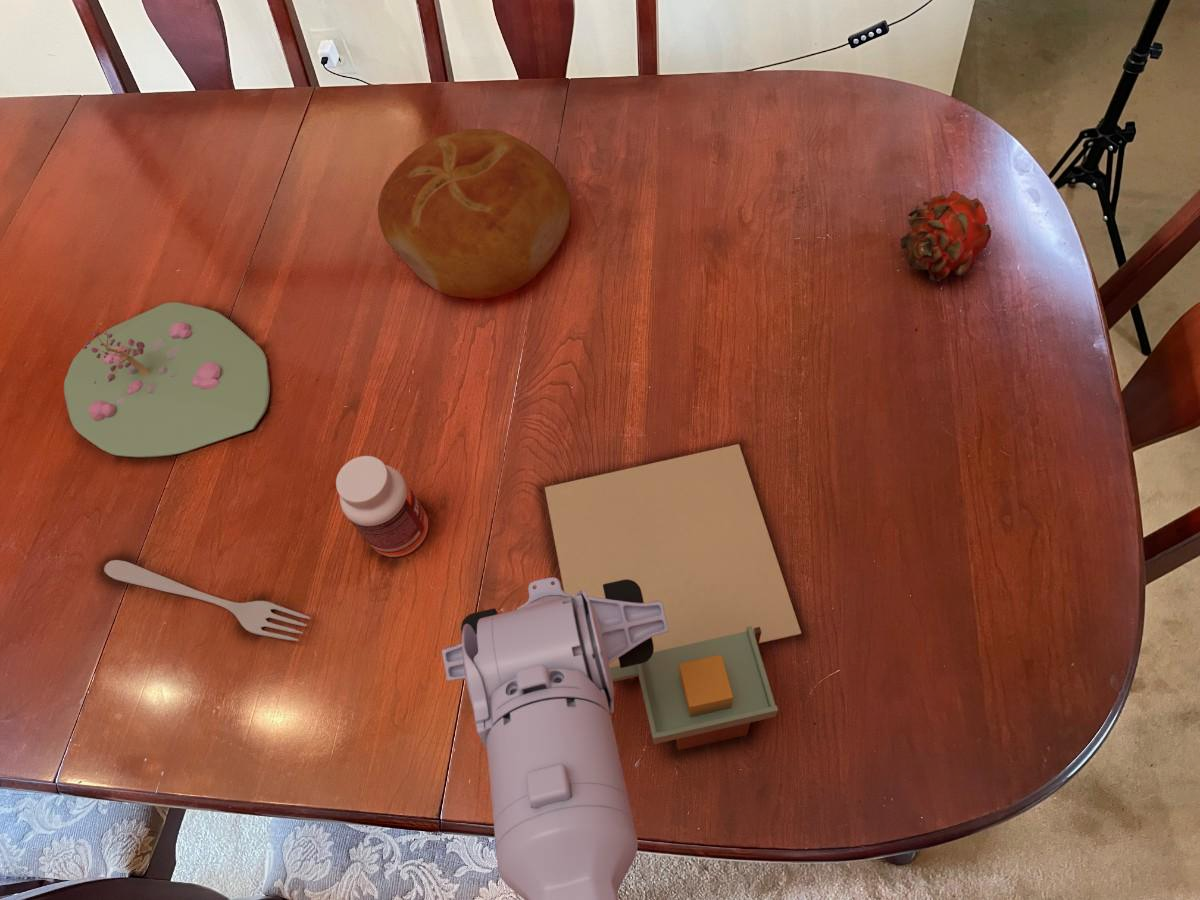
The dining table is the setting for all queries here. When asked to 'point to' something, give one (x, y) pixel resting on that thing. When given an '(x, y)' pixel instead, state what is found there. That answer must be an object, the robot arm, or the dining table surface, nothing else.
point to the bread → (475, 212)
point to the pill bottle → (381, 506)
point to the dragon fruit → (946, 235)
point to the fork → (209, 599)
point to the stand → (717, 734)
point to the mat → (676, 545)
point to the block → (705, 685)
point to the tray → (668, 694)
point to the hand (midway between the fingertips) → (562, 630)
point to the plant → (167, 383)
